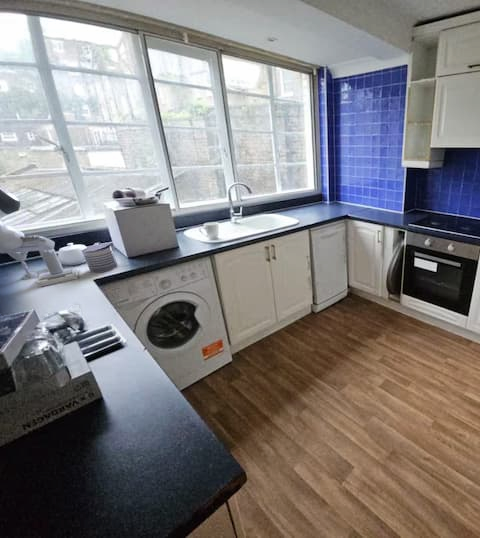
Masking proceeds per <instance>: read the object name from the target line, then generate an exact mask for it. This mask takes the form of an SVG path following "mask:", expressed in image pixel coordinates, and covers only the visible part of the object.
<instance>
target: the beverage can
mask: <svg viewBox="0 0 480 538" xmlns="http://www.w3.org/2000/svg"><path fill="white" fill-rule="evenodd" d="M52 250H53V251H52V253H46V252H45V250H41V251H39V254H40V256H41V258H42V260H43V262H44V264H45V266H46V268H47V270H48V272H50V274H59V273H62V272H63V271H64V270H63V269H64V268H63V266H62V263H60V261H59V259H58V254H57V253H56V252H57V251H56V250H55V248H53V249H52Z"/></svg>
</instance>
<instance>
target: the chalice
mask: <svg viewBox="0 0 480 538" xmlns="http://www.w3.org/2000/svg"><path fill="white" fill-rule="evenodd" d="M7 255H9V256H10V257H11V258H12V259H14V260H16V262H17V261H18V262H20V263H21V266H23V270H25V272H24V273H23V278H22V279H23V280H30V279H34V278H37V277H39V274H37V273H36V272H34V271H31V270H29V266H27V263H26V261H25V260H26V259H27V256H28V254H27V255H21V254H16V253H7Z"/></svg>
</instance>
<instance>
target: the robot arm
mask: <svg viewBox="0 0 480 538" xmlns="http://www.w3.org/2000/svg"><path fill="white" fill-rule="evenodd" d="M20 200H21V199H19V198H18V197H17V196H16V195H15V194H13V193H12V192H10V191H8V190H7V189H5V188H2V187H1V186H0V219H1V218H4V217H5V216H8V215H11V214H13V213H16V212H18V211H20V207H21V201H20ZM52 249H55V241H54V240H52V239H50V238H48V237H45V236H43V235H39V234H38V235H35V234H34V235H25V233H23V231H21V230H18V229H17V228H15V227H13V226H11V225H10V224H6V223H3V221H1V220H0V254H8V253H16V254H21V255H27V256H28V254H29V252H40V251H41V250H45V252H46V253H52V251H53V250H52Z"/></svg>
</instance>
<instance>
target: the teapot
mask: <svg viewBox="0 0 480 538" xmlns="http://www.w3.org/2000/svg"><path fill="white" fill-rule="evenodd" d="M97 244H101V242H95V243H94V244H93V245H97ZM66 245H67V246H64V247H60V248H59V249H58V250H57V251H55V252H56V254H57V257H58V259H59V261H60V264H61V265H66V266H75V265H80V264H84V263H87V262H86V260H85V257H84V255H83V253H82V251H81V250H83V249H85V248H87V247H88V246H86V245H85V244H81V243H80V244H79V243H78V244H74V242H69V243H66Z"/></svg>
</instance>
